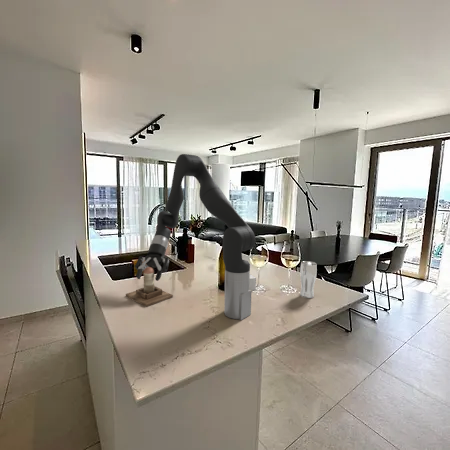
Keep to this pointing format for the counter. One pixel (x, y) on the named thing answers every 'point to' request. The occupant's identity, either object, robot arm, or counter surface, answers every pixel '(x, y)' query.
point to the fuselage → (148, 280)
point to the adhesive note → (252, 283)
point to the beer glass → (308, 278)
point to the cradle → (149, 296)
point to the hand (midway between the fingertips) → (147, 279)
